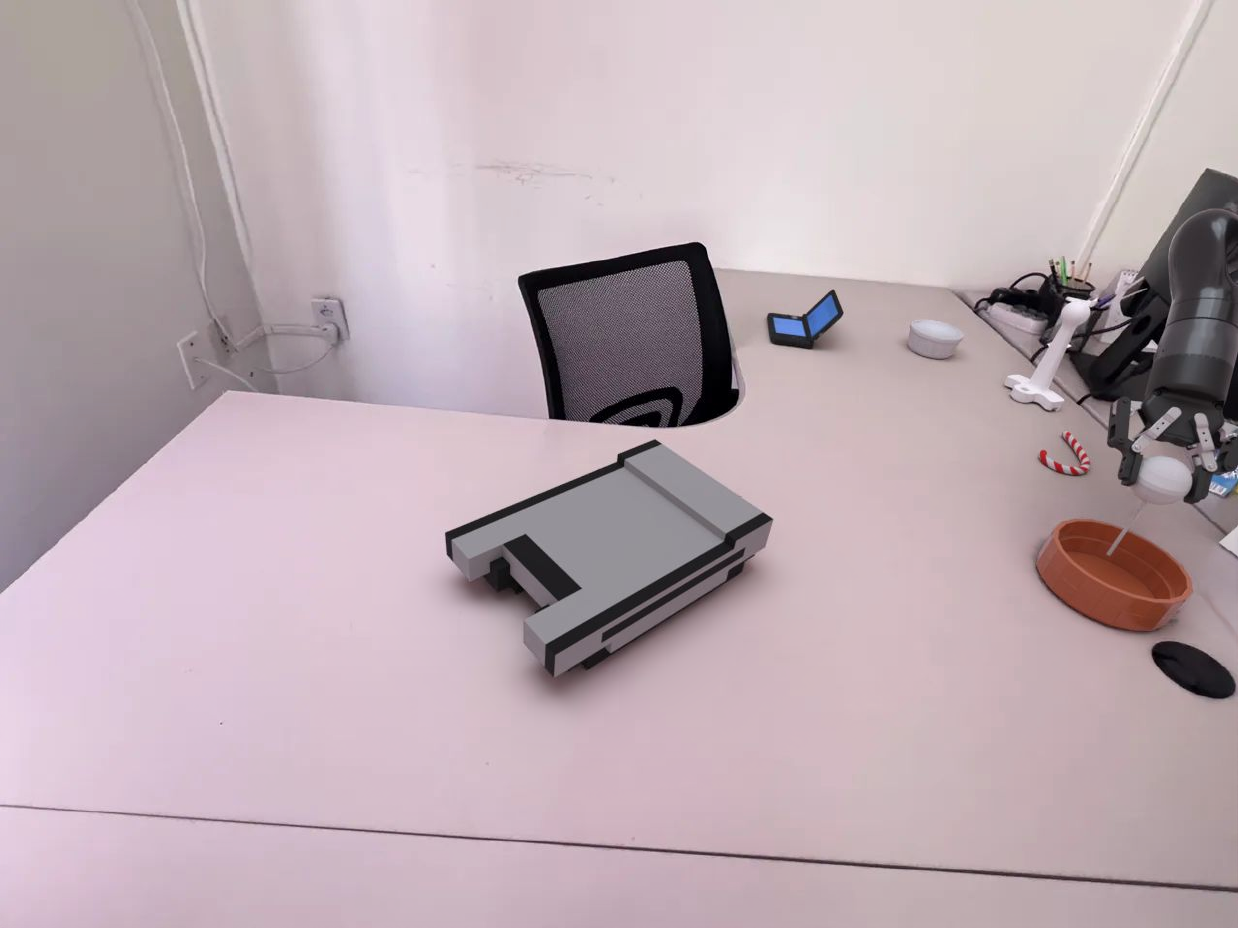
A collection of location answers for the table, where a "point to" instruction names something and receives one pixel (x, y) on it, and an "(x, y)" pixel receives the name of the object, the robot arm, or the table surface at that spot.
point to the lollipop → (1158, 486)
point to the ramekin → (933, 338)
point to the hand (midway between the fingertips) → (1159, 493)
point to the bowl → (1113, 575)
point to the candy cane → (1062, 468)
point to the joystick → (1049, 362)
